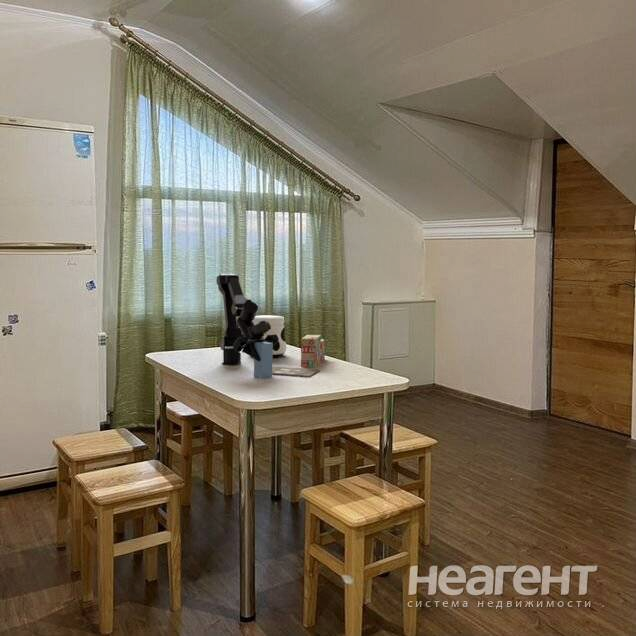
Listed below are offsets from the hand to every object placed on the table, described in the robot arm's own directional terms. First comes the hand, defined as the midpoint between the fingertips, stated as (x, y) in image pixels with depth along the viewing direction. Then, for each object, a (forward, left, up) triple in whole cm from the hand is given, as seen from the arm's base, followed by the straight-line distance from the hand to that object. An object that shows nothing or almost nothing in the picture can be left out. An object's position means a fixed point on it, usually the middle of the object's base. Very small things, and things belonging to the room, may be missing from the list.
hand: (265, 359), depth 247 cm
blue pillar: (-1, +1, -7) cm, 7 cm away
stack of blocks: (+7, +38, -7) cm, 39 cm away
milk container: (-18, +48, -7) cm, 52 cm away
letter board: (+6, +13, -7) cm, 15 cm away
